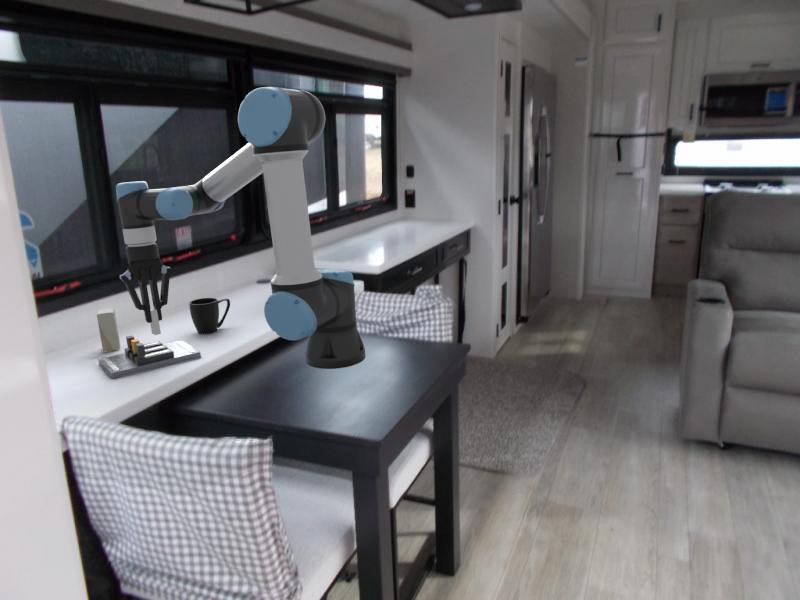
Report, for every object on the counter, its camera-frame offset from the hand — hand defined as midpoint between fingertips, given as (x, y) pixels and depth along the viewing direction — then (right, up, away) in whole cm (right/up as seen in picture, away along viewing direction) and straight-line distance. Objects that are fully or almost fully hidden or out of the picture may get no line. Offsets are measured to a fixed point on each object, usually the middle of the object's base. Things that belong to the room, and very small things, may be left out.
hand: (156, 333), depth 162 cm
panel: (-2, -7, +1) cm, 7 cm away
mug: (+7, -1, +26) cm, 27 cm away
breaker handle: (-4, -5, -2) cm, 7 cm away
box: (-17, -5, +13) cm, 22 cm away
